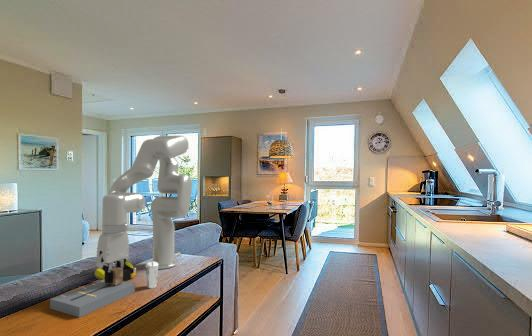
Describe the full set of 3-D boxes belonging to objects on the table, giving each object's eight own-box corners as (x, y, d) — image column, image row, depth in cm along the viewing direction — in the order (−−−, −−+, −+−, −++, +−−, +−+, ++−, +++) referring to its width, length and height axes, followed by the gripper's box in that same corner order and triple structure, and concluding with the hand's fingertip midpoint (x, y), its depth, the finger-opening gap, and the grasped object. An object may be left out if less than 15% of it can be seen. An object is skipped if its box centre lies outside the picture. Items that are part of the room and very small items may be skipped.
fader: (111, 279, 106) (112, 265, 106) (122, 282, 104) (123, 267, 104) (104, 282, 103) (104, 268, 103) (115, 285, 101) (115, 270, 101)
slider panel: (107, 286, 109) (107, 277, 109) (134, 292, 104) (134, 283, 104) (49, 308, 91) (50, 298, 91) (79, 317, 85) (79, 306, 85)
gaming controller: (92, 283, 112) (108, 288, 108) (92, 269, 112) (109, 273, 108) (126, 272, 126) (142, 275, 121) (126, 259, 126) (142, 262, 121)
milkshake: (145, 290, 105) (145, 262, 105) (145, 285, 110) (145, 258, 110) (158, 288, 107) (159, 261, 107) (158, 283, 112) (158, 257, 112)
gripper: (125, 224, 113) (125, 272, 113) (85, 232, 98) (84, 287, 98) (140, 226, 110) (139, 275, 110) (100, 234, 95) (99, 290, 95)
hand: (113, 280), depth 104 cm, fingers closed on fader, 3 cm apart
